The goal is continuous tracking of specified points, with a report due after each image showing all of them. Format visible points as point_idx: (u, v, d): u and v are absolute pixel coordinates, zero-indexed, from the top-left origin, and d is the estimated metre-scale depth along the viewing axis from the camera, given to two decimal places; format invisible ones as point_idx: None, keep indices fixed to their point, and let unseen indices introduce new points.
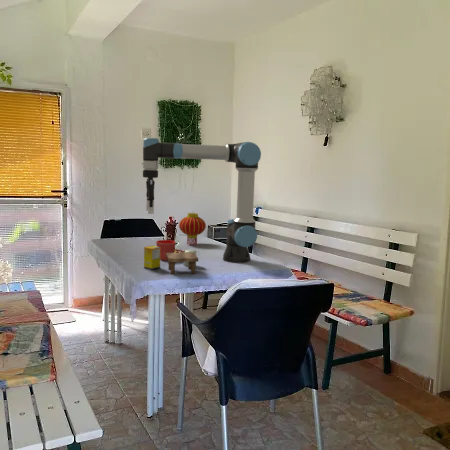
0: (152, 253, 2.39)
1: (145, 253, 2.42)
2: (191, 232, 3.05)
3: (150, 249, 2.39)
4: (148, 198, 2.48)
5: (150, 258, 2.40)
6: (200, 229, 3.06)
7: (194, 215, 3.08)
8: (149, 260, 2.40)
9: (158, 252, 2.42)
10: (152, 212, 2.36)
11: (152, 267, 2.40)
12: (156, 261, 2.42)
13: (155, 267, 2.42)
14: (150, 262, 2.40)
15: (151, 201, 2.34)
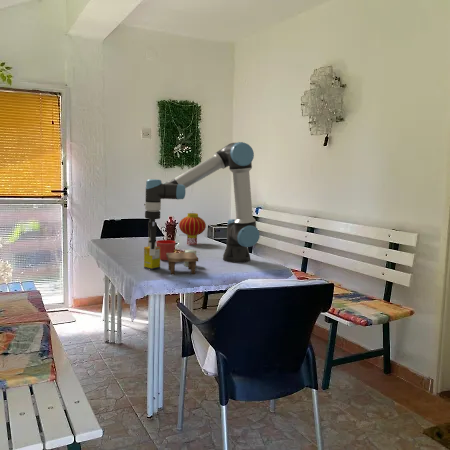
0: None
1: (145, 253, 2.42)
2: (191, 232, 3.05)
3: None
4: (150, 238, 2.48)
5: (150, 258, 2.40)
6: (200, 229, 3.06)
7: (194, 215, 3.08)
8: (149, 260, 2.40)
9: (158, 252, 2.42)
10: (154, 254, 2.36)
11: (152, 267, 2.40)
12: (156, 261, 2.42)
13: (155, 267, 2.42)
14: (150, 262, 2.40)
15: (153, 243, 2.34)
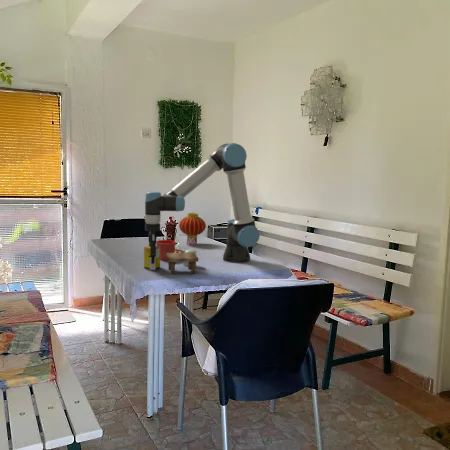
0: None
1: (145, 253, 2.42)
2: (191, 232, 3.05)
3: None
4: None
5: None
6: (200, 229, 3.06)
7: (194, 215, 3.08)
8: (149, 260, 2.40)
9: (158, 252, 2.42)
10: (154, 268, 2.39)
11: None
12: (156, 261, 2.42)
13: (155, 267, 2.42)
14: None
15: (153, 258, 2.37)
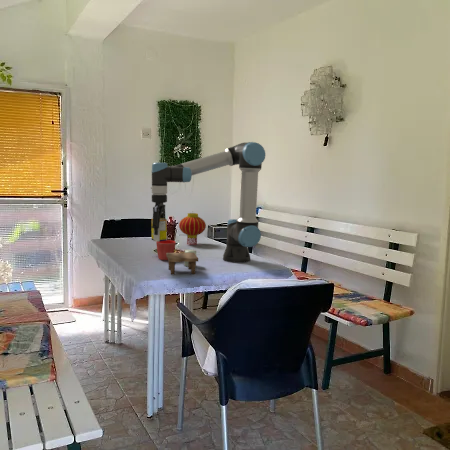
0: None
1: None
2: (191, 232, 3.05)
3: None
4: None
5: None
6: (200, 229, 3.06)
7: (194, 215, 3.08)
8: None
9: (164, 224, 2.38)
10: (157, 240, 2.36)
11: None
12: (162, 233, 2.38)
13: (160, 239, 2.38)
14: None
15: (155, 229, 2.34)
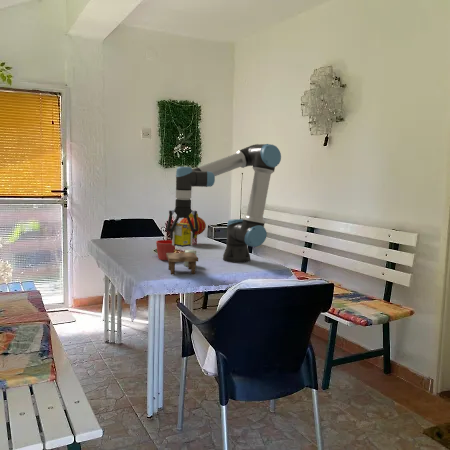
0: (174, 228, 2.35)
1: None
2: None
3: None
4: None
5: None
6: (200, 229, 3.06)
7: None
8: None
9: (180, 230, 2.33)
10: (172, 244, 2.35)
11: (174, 243, 2.36)
12: (178, 238, 2.34)
13: (177, 244, 2.35)
14: None
15: (170, 232, 2.35)
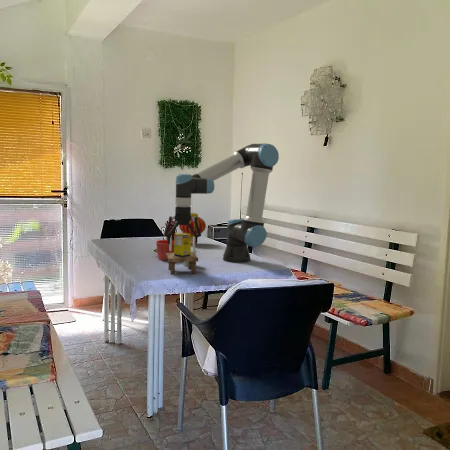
0: (175, 238, 2.36)
1: None
2: (191, 232, 3.05)
3: None
4: (193, 237, 2.38)
5: None
6: (200, 229, 3.06)
7: (194, 215, 3.08)
8: None
9: (180, 240, 2.34)
10: (169, 249, 2.35)
11: (174, 253, 2.37)
12: (178, 248, 2.35)
13: (177, 254, 2.36)
14: None
15: (167, 238, 2.35)
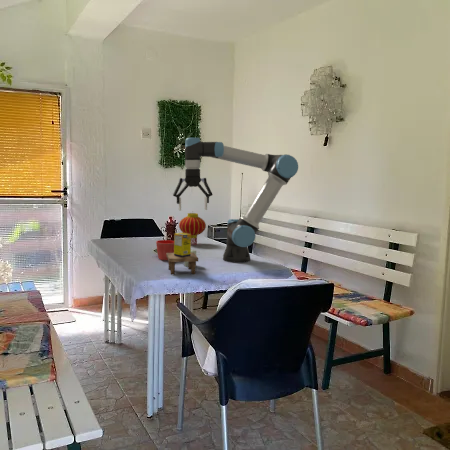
0: (175, 238, 2.36)
1: None
2: (191, 232, 3.05)
3: None
4: (204, 197, 2.51)
5: None
6: (200, 229, 3.06)
7: (194, 215, 3.08)
8: None
9: (180, 240, 2.34)
10: (179, 209, 2.47)
11: (174, 253, 2.37)
12: (178, 248, 2.35)
13: (177, 254, 2.36)
14: None
15: None
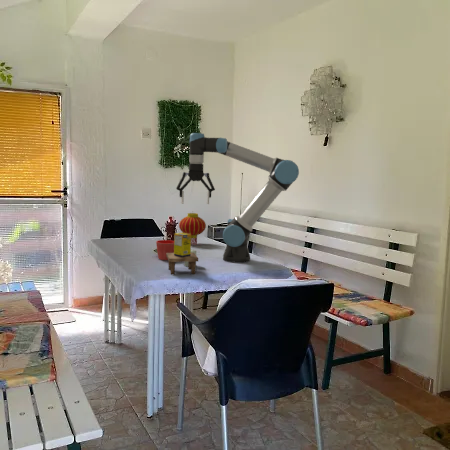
0: (175, 238, 2.36)
1: None
2: (191, 232, 3.05)
3: None
4: (207, 192, 2.57)
5: None
6: (200, 229, 3.06)
7: (194, 215, 3.08)
8: None
9: (180, 240, 2.34)
10: (181, 202, 2.54)
11: (174, 253, 2.37)
12: (178, 248, 2.35)
13: (177, 254, 2.36)
14: None
15: None
